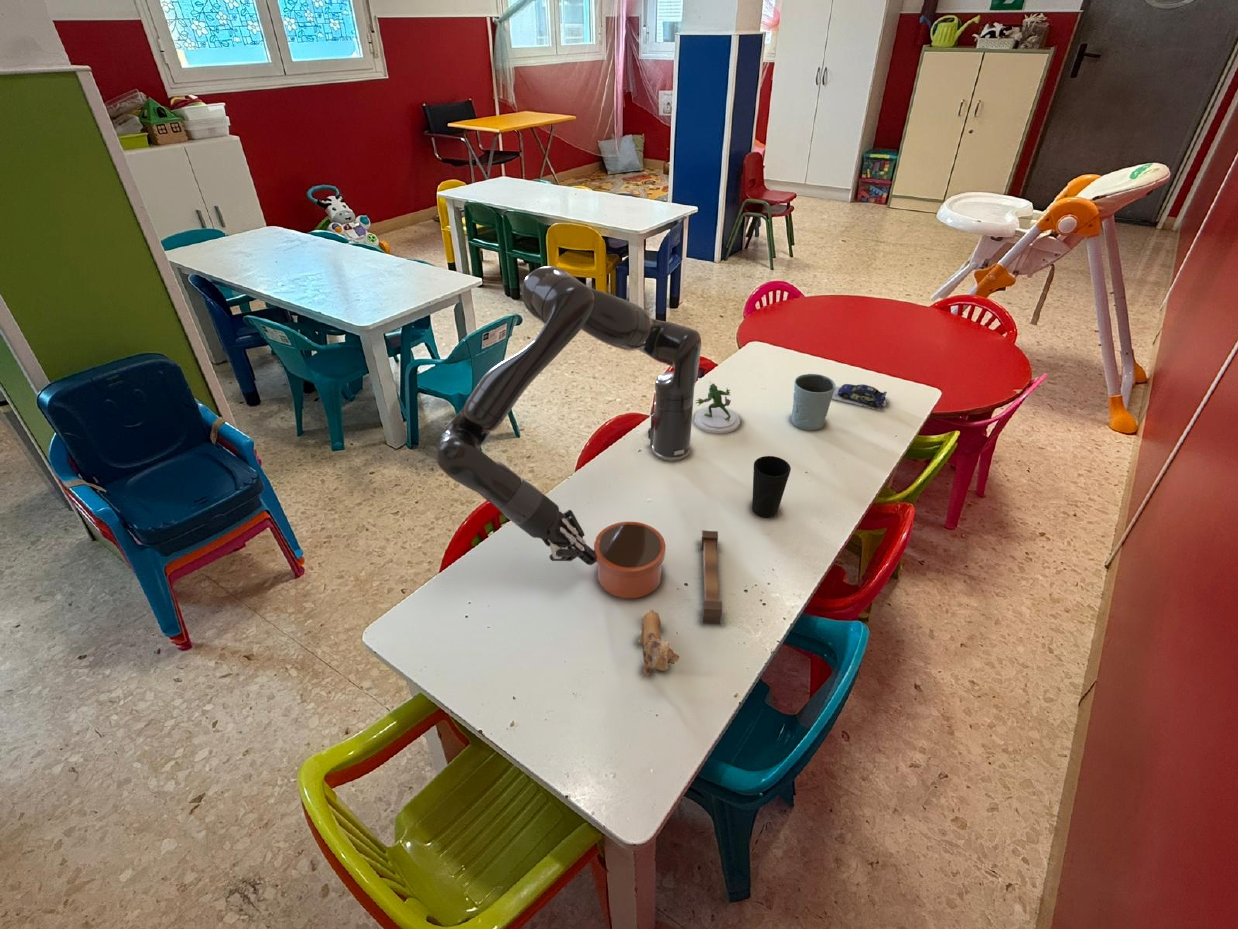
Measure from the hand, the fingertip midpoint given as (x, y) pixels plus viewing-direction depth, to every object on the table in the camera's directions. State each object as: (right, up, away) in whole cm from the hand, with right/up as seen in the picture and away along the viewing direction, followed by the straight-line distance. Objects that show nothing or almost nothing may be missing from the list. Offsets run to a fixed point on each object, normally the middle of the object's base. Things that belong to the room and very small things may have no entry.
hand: (594, 560), depth 122 cm
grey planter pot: (+55, +30, +47) cm, 78 cm away
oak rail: (+22, -4, +1) cm, 23 cm away
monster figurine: (+31, +30, +48) cm, 64 cm away
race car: (+73, +37, +57) cm, 99 cm away
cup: (+37, +8, +18) cm, 42 cm away
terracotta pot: (+7, -3, +2) cm, 8 cm away
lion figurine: (+11, -15, -13) cm, 23 cm away
